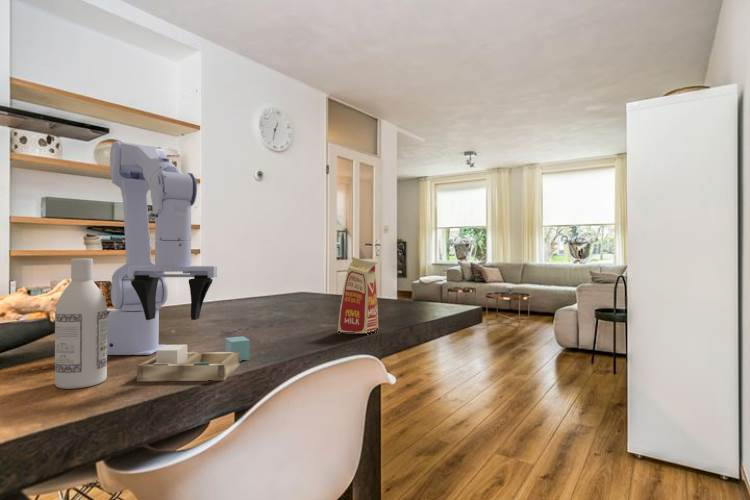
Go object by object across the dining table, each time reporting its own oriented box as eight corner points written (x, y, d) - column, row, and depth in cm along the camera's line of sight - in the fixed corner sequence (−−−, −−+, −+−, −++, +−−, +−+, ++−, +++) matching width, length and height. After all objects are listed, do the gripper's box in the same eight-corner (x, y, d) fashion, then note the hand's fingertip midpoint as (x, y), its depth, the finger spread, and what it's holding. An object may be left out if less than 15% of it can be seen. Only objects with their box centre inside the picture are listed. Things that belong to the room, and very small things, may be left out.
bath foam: (98, 374, 75) (98, 258, 75) (113, 382, 71) (114, 258, 71) (49, 383, 70) (49, 258, 70) (62, 393, 66) (63, 259, 66)
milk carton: (337, 333, 114) (337, 256, 114) (352, 327, 123) (352, 256, 123) (369, 335, 111) (370, 256, 111) (382, 329, 120) (383, 256, 120)
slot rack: (136, 381, 72) (137, 364, 72) (162, 366, 81) (162, 350, 81) (224, 380, 72) (224, 363, 72) (239, 365, 82) (239, 350, 82)
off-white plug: (177, 374, 74) (177, 350, 74) (155, 374, 74) (156, 350, 74) (189, 365, 80) (190, 343, 80) (170, 365, 80) (170, 343, 80)
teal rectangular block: (249, 360, 86) (249, 340, 86) (231, 362, 84) (231, 341, 84) (241, 354, 91) (241, 335, 91) (224, 356, 89) (224, 337, 89)
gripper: (118, 240, 72) (117, 322, 72) (207, 240, 73) (207, 322, 73) (139, 241, 79) (138, 316, 79) (220, 241, 80) (220, 316, 80)
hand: (172, 319), depth 77 cm, fingers open, 7 cm apart
